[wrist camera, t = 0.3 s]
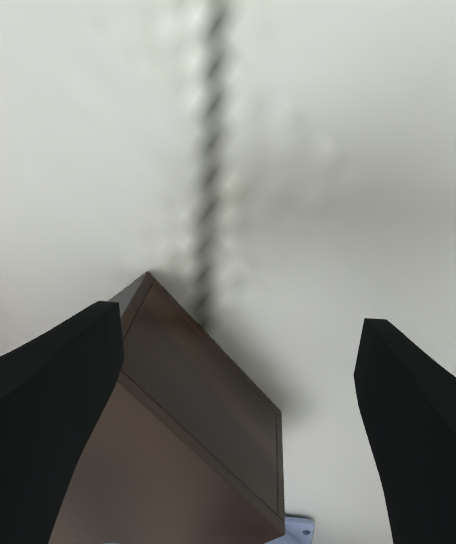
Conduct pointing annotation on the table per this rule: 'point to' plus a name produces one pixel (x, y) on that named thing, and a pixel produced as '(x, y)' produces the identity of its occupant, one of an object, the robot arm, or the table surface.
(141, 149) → the table surface
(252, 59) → the table surface
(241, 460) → the cabinet
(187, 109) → the table surface
